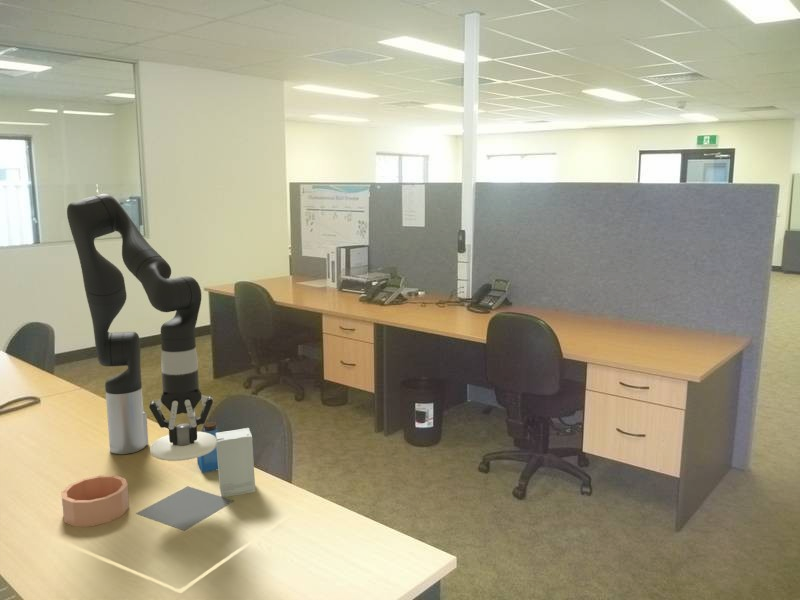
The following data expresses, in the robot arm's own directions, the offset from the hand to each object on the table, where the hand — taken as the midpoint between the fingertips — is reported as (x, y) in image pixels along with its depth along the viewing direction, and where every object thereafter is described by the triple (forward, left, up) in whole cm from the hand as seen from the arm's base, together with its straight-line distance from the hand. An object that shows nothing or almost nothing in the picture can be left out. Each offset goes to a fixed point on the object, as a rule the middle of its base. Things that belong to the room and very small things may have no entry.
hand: (183, 442), depth 140 cm
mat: (0, 0, -16) cm, 16 cm away
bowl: (+11, -16, -16) cm, 25 cm away
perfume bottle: (-19, -11, -16) cm, 27 cm away
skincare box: (-12, +4, -16) cm, 20 cm away
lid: (0, 0, -2) cm, 2 cm away
